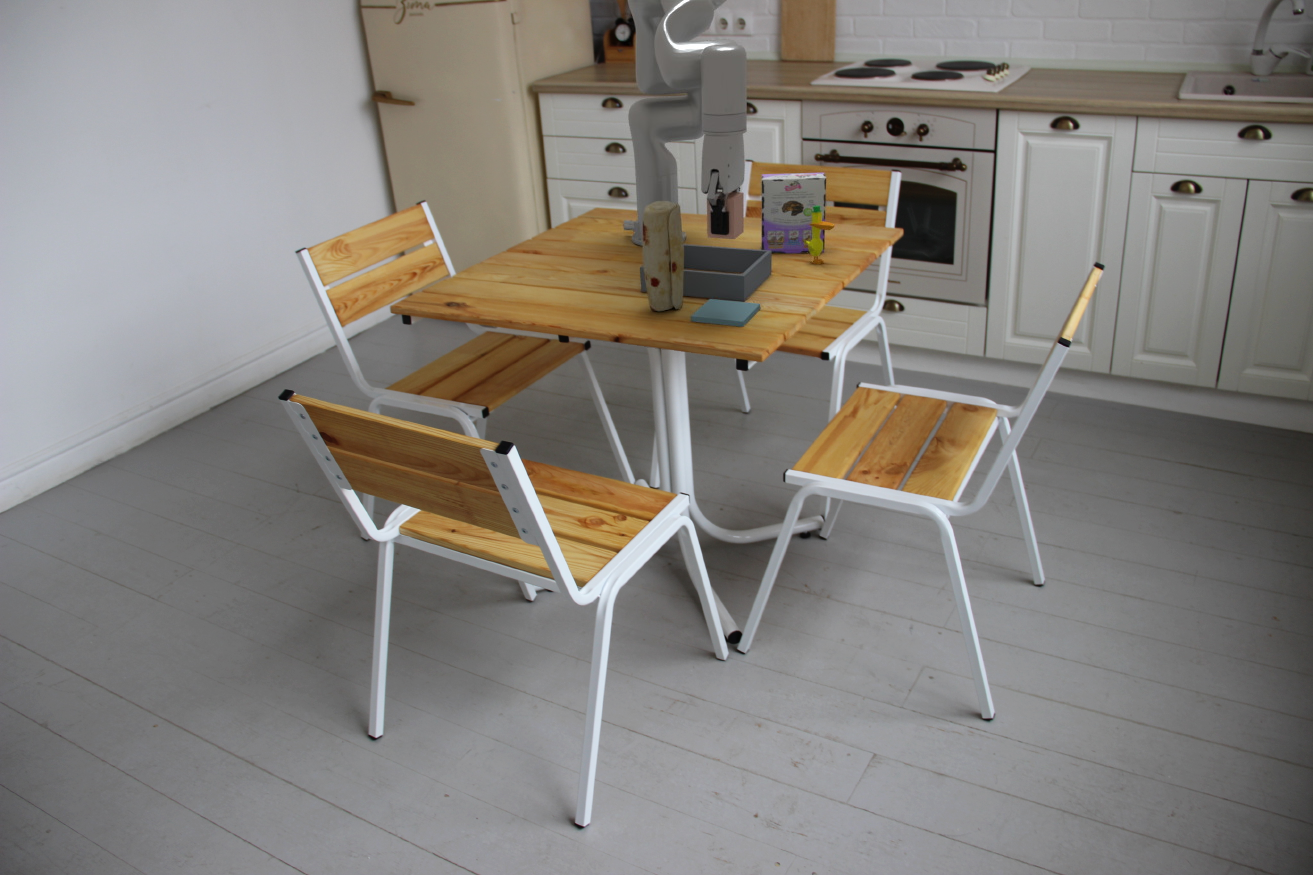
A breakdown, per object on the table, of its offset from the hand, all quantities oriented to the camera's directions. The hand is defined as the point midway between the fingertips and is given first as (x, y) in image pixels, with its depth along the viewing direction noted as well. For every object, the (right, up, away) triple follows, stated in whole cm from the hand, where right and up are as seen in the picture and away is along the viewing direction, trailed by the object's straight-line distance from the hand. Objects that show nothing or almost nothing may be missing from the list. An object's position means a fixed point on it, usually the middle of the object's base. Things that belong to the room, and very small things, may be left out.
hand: (725, 229), depth 172 cm
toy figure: (+22, 0, +34) cm, 40 cm away
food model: (-10, -12, +12) cm, 20 cm away
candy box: (+18, +4, +43) cm, 47 cm away
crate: (-2, -6, +25) cm, 26 cm away
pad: (+1, -14, +7) cm, 16 cm away
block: (0, -1, 0) cm, 1 cm away
